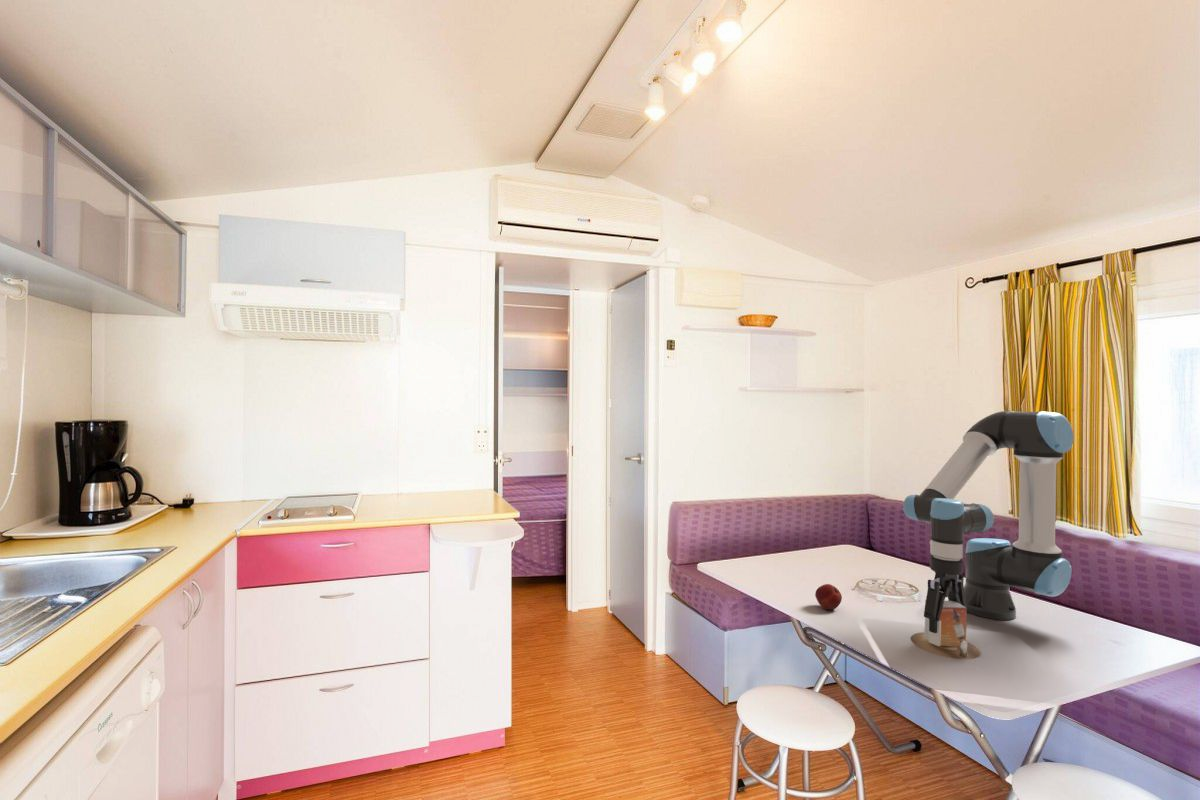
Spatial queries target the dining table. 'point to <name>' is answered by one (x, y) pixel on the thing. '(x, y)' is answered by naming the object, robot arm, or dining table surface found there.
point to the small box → (950, 624)
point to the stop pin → (963, 648)
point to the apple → (828, 596)
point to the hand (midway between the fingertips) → (944, 639)
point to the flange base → (944, 648)
